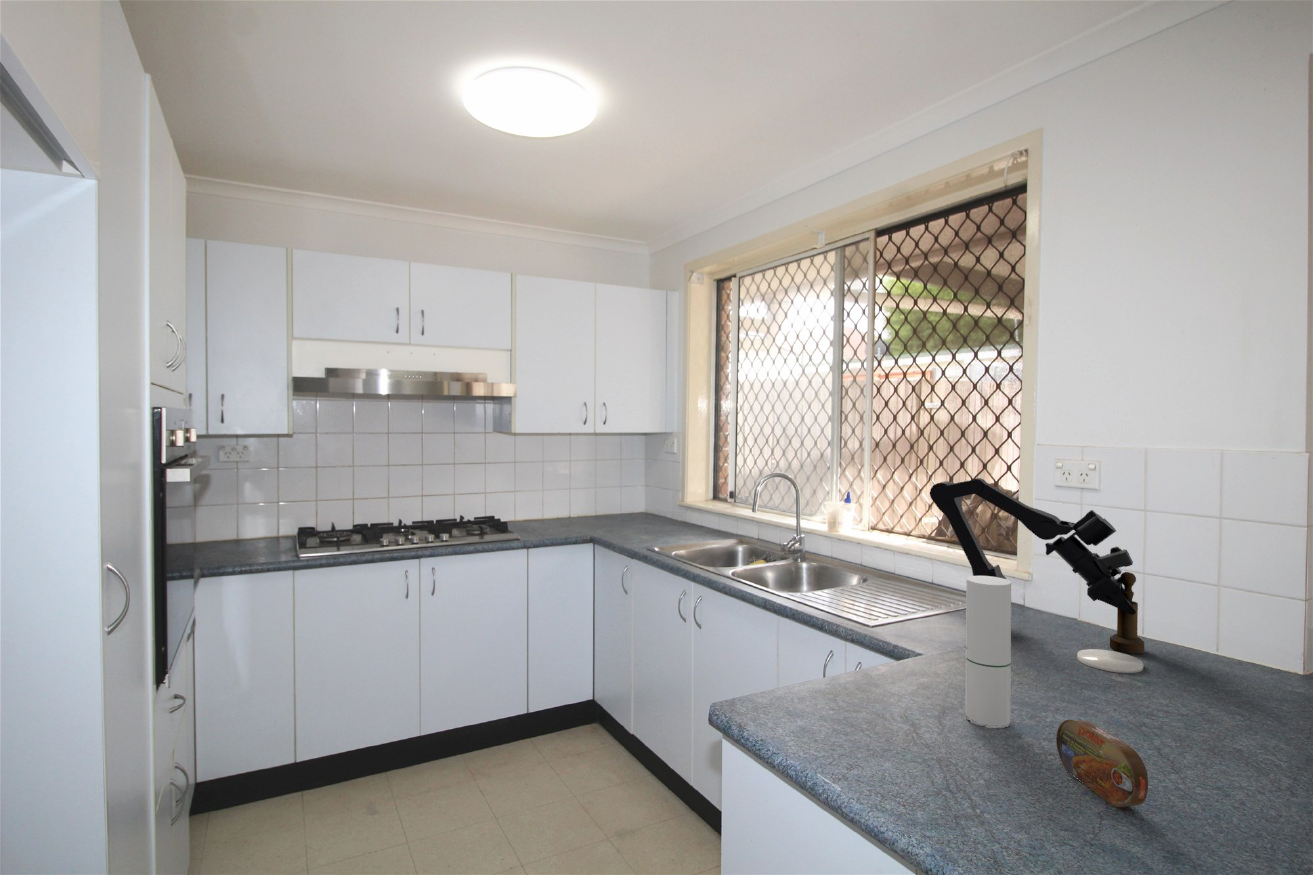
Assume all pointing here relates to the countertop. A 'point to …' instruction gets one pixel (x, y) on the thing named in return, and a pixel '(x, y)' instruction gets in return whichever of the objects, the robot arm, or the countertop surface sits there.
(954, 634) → the countertop surface
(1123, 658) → the cream plate
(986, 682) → the cylindrical container
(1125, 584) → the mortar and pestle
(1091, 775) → the tin
